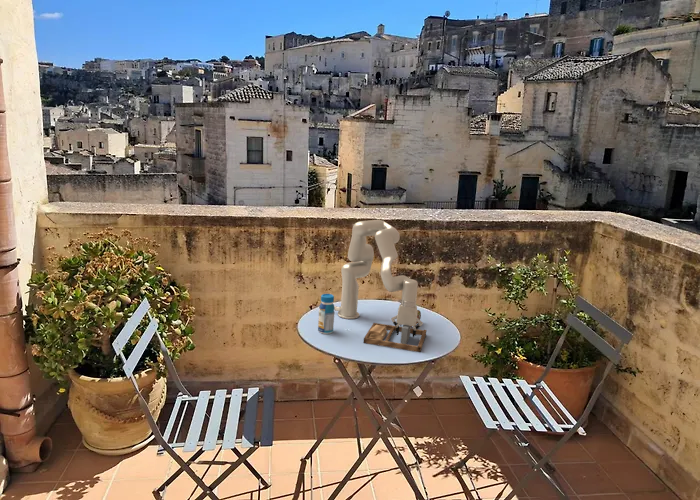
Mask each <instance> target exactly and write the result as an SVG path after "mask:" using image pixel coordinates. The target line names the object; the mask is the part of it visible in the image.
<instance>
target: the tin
mask: <svg viewBox="0 0 700 500" xmlns="http://www.w3.org/2000/svg"><path fill="white" fill-rule="evenodd" d="M417 318H418V319H419V320H420V321H421V320H422V319H421V318H422V313H421V310H420V309H417ZM417 323H418V322H417ZM417 323H416V324H417ZM418 324H419V323H418ZM418 324H417V325H418ZM411 328H413V327H412V326H411Z"/></svg>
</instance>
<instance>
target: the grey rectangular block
mask: <svg viewBox="0 0 700 500" xmlns="http://www.w3.org/2000/svg"><path fill="white" fill-rule="evenodd" d="M401 327H402V332H400V334H401V335H400V343H402V344H408V343H409V339H410V337H411V334H410V328H412V327H411V326H407V325H402V326H401Z"/></svg>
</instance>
